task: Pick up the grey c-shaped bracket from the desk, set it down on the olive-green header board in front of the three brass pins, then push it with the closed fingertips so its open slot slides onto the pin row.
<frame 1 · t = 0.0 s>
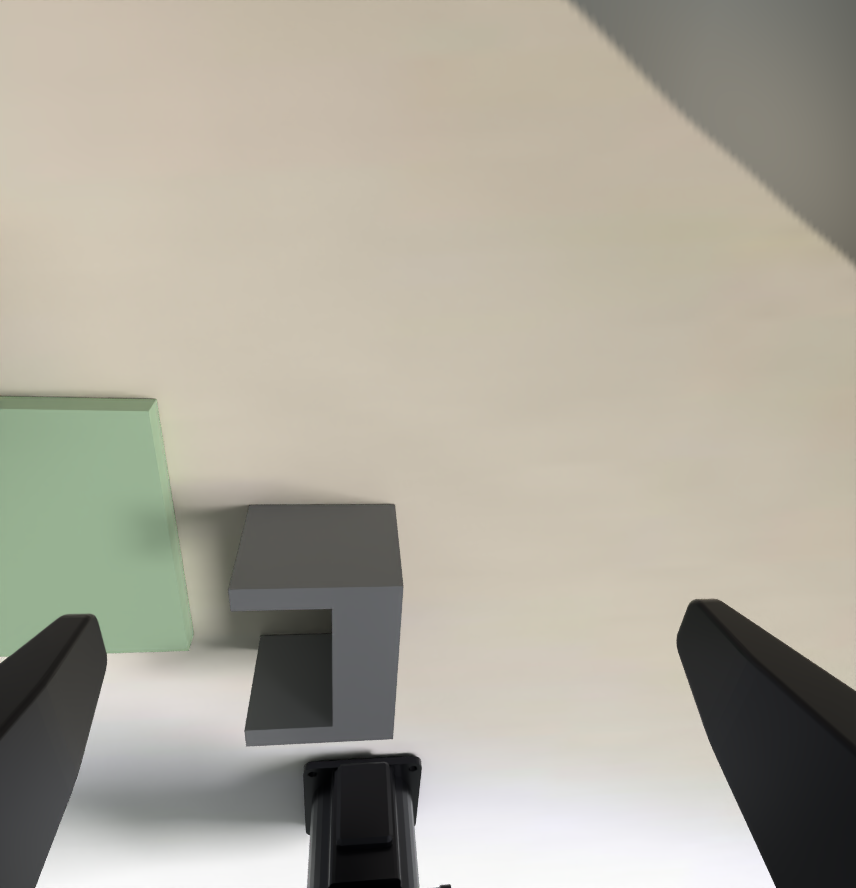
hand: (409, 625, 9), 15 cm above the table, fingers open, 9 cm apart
grey c-shaped bracket: (324, 582, 28), on the table
header board: (21, 531, 25), on the table
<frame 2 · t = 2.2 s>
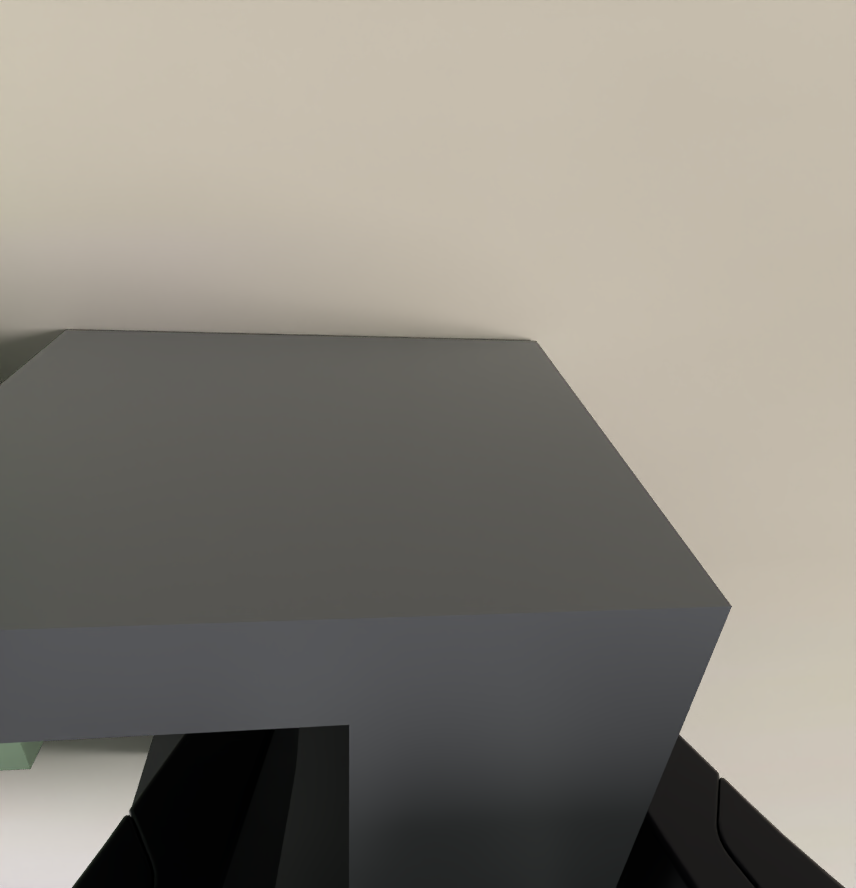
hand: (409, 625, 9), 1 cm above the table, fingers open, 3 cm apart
grey c-shaped bracket: (319, 583, 10), on the table, touching gripper
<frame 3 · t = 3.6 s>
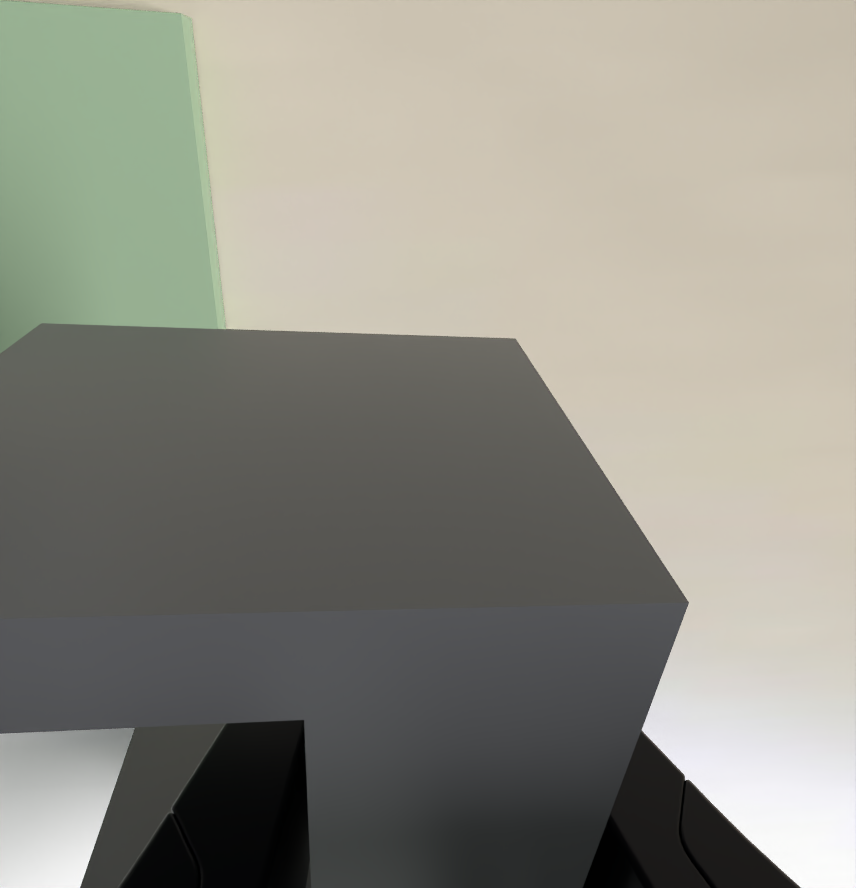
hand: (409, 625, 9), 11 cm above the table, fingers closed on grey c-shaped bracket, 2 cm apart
grey c-shaped bracket: (299, 581, 10), point 10 cm above the table, touching gripper
when the fingers open (4 cm above the table, at t = 5.0 s): grey c-shaped bracket drops 1 cm, resting on header board.
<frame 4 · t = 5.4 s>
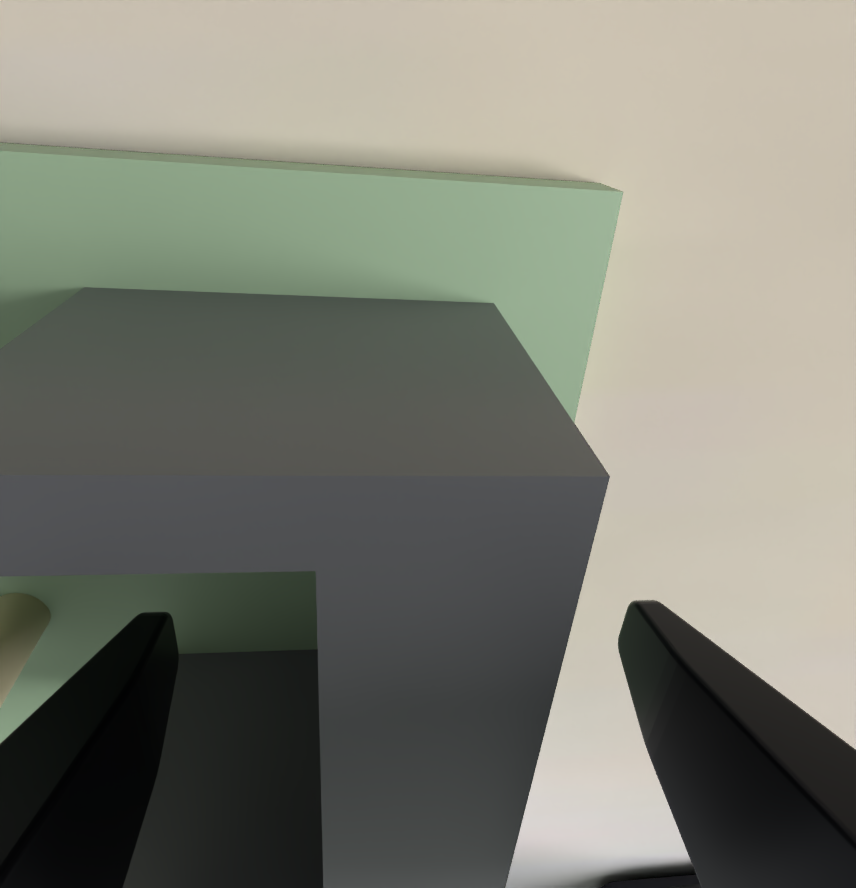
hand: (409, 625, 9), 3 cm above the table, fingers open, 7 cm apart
grey c-shaped bracket: (305, 524, 11), point 1 cm above the table, touching header board
header board: (240, 494, 12), on the table
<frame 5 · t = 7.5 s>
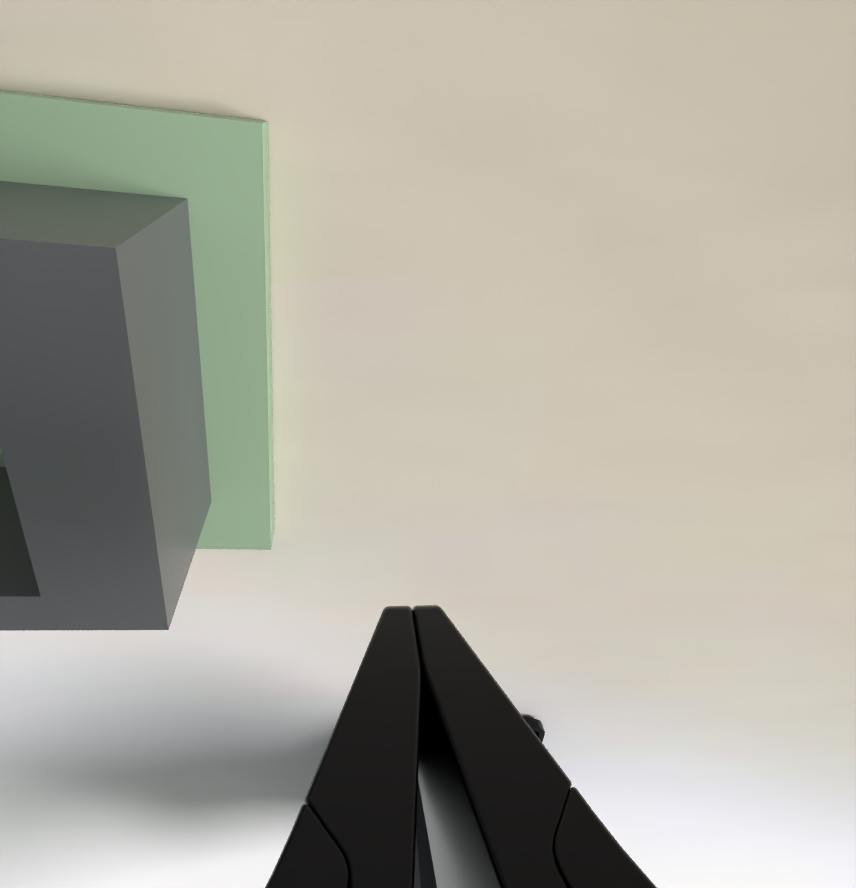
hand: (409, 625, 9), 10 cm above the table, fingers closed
grey c-shaped bracket: (78, 362, 16), point 1 cm above the table, touching header board
header board: (41, 346, 16), on the table
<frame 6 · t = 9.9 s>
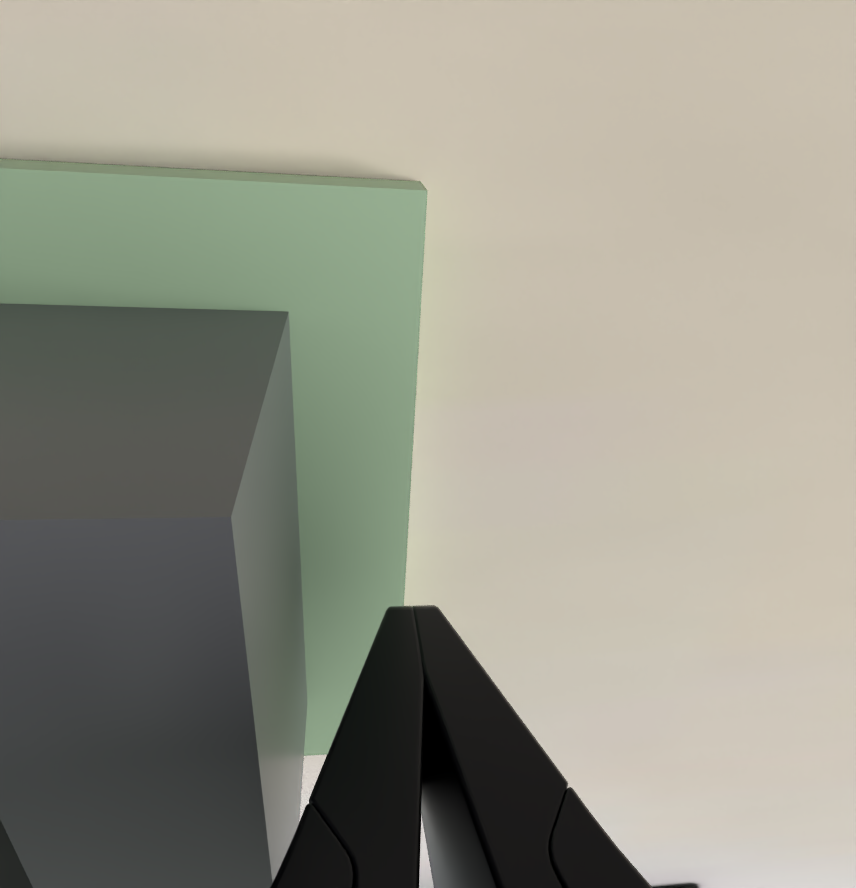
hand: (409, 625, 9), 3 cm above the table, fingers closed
grey c-shaped bracket: (122, 547, 11), point 1 cm above the table, touching gripper
header board: (78, 515, 11), on the table
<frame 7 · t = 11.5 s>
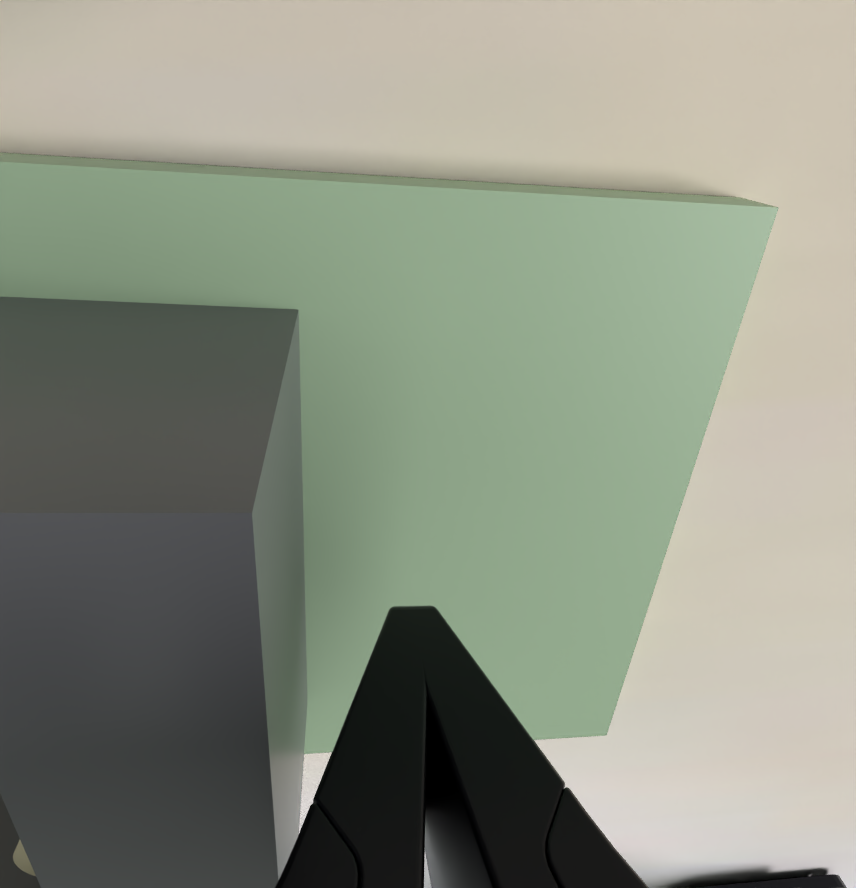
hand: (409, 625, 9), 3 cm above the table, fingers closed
grey c-shaped bracket: (125, 543, 11), point 1 cm above the table, touching gripper, header board
header board: (357, 509, 12), on the table
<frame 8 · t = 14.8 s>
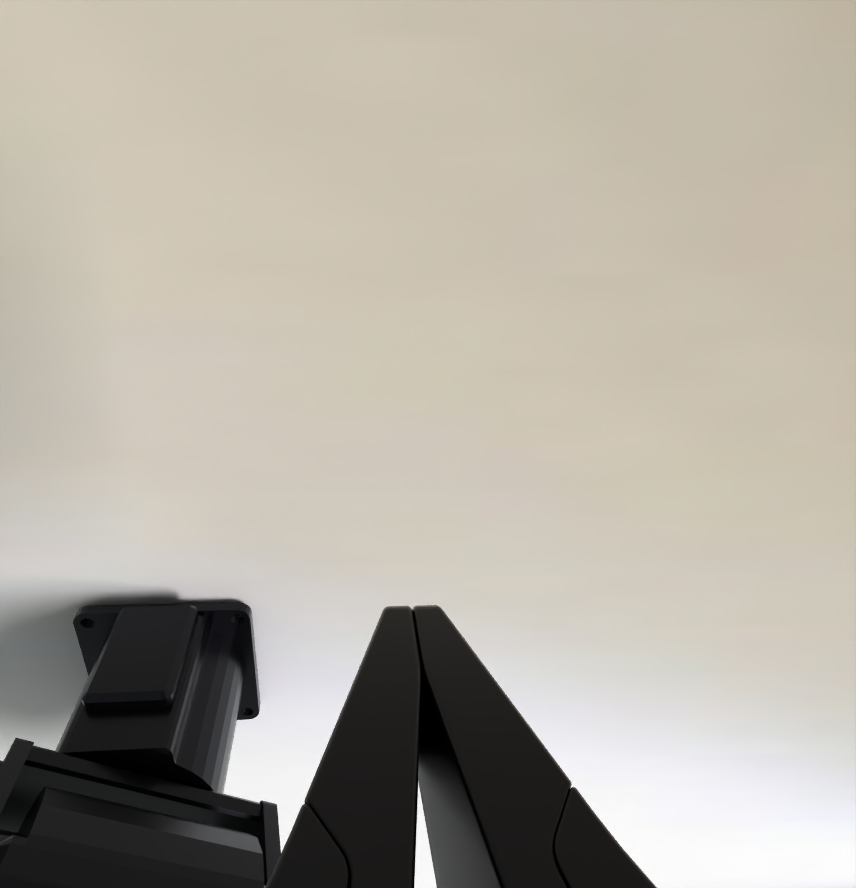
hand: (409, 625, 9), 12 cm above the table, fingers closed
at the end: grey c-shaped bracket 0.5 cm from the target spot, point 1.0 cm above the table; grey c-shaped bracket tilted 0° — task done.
